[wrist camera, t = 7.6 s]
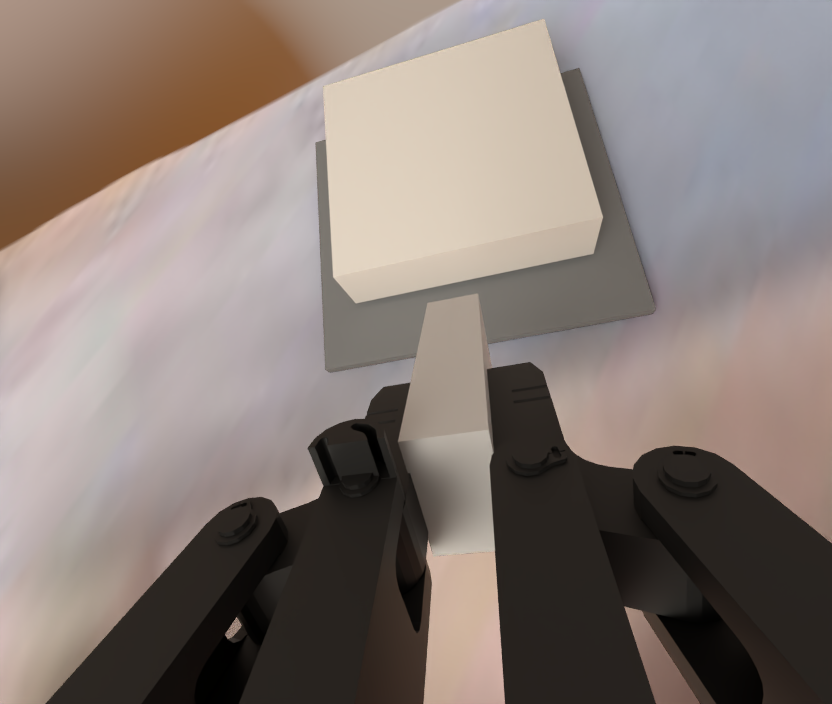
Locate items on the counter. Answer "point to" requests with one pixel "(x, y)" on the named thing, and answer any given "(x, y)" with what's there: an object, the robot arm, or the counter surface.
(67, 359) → the counter surface
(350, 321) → the mat
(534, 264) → the tile
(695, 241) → the counter surface
